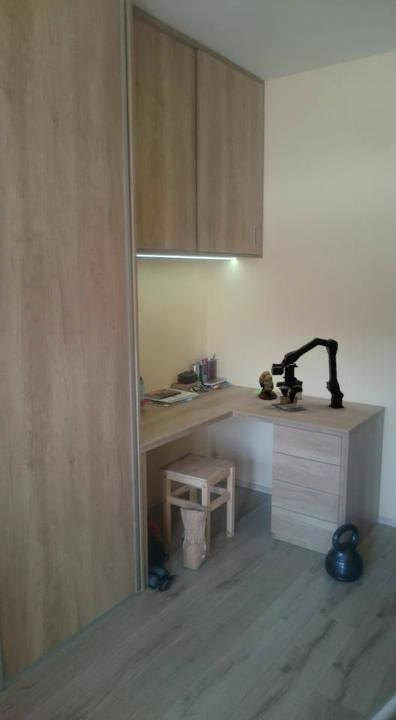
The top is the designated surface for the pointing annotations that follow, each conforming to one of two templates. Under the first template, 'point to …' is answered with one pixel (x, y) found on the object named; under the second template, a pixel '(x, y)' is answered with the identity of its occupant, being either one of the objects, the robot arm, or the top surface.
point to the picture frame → (289, 407)
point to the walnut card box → (287, 400)
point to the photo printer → (298, 394)
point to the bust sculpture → (267, 386)
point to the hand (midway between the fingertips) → (288, 401)
